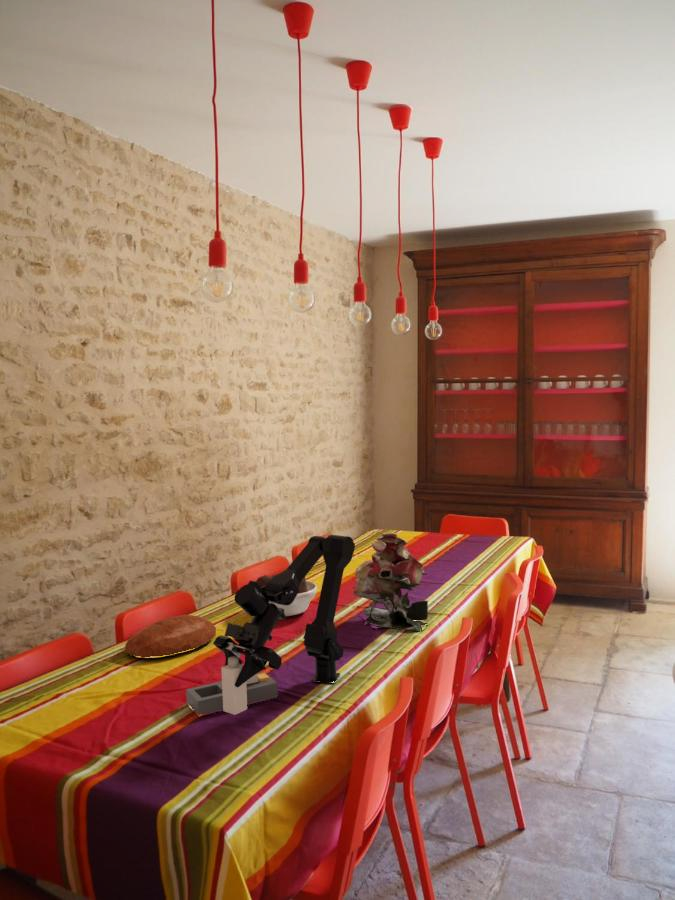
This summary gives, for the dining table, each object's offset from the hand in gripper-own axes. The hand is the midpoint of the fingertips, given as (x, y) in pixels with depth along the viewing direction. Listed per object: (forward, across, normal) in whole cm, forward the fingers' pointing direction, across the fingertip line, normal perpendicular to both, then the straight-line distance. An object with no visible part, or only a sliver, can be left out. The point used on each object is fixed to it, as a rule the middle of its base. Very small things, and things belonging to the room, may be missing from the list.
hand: (229, 684), depth 173 cm
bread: (-13, -58, +27) cm, 66 cm away
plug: (+4, 0, +6) cm, 7 cm away
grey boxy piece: (0, -10, +13) cm, 16 cm away
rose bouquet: (-56, -17, +70) cm, 91 cm away
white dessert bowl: (-45, -54, +59) cm, 92 cm away
